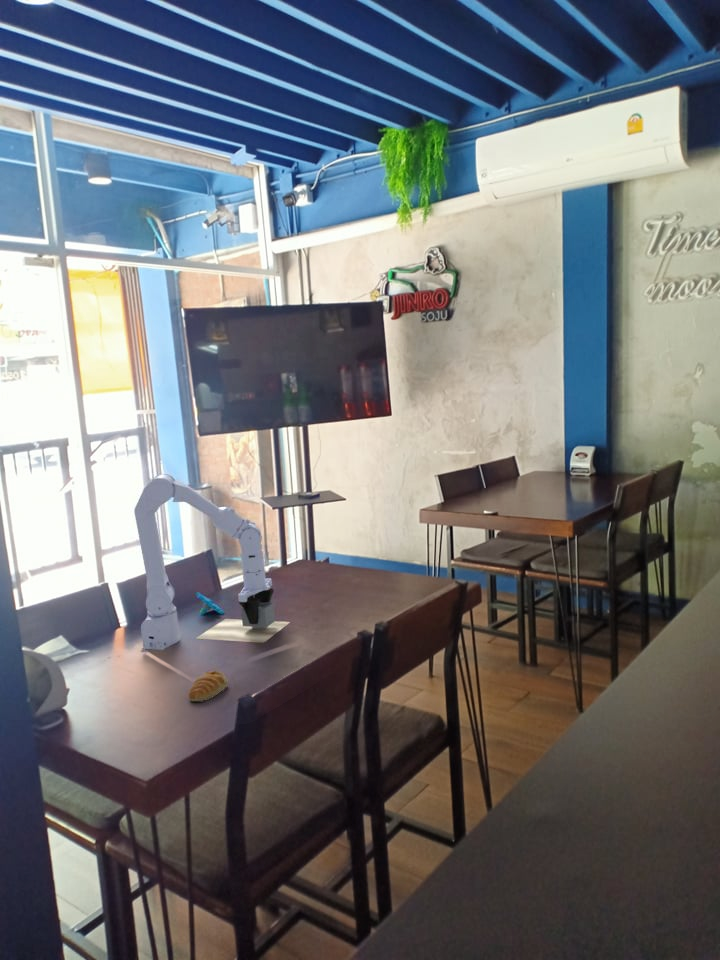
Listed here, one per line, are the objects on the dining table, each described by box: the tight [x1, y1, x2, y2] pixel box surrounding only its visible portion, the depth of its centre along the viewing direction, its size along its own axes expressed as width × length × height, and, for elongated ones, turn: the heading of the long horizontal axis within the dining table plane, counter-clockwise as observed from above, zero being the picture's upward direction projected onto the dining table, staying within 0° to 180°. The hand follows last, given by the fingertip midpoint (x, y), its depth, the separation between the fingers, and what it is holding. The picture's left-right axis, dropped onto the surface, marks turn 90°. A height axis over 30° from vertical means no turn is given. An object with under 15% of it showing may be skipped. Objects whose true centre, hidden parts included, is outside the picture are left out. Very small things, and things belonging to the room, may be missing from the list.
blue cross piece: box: [195, 592, 225, 617], centre depth 211 cm, size 11×6×10 cm
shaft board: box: [195, 618, 291, 644], centre depth 194 cm, size 15×20×1 cm
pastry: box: [188, 670, 229, 702], centre depth 158 cm, size 9×7×4 cm
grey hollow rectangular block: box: [240, 601, 276, 627], centre depth 193 cm, size 5×7×5 cm
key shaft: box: [252, 627, 267, 630], centre depth 194 cm, size 2×4×4 cm, turn 69°
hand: (258, 620), depth 194 cm, fingers closed on grey hollow rectangular block, 5 cm apart
